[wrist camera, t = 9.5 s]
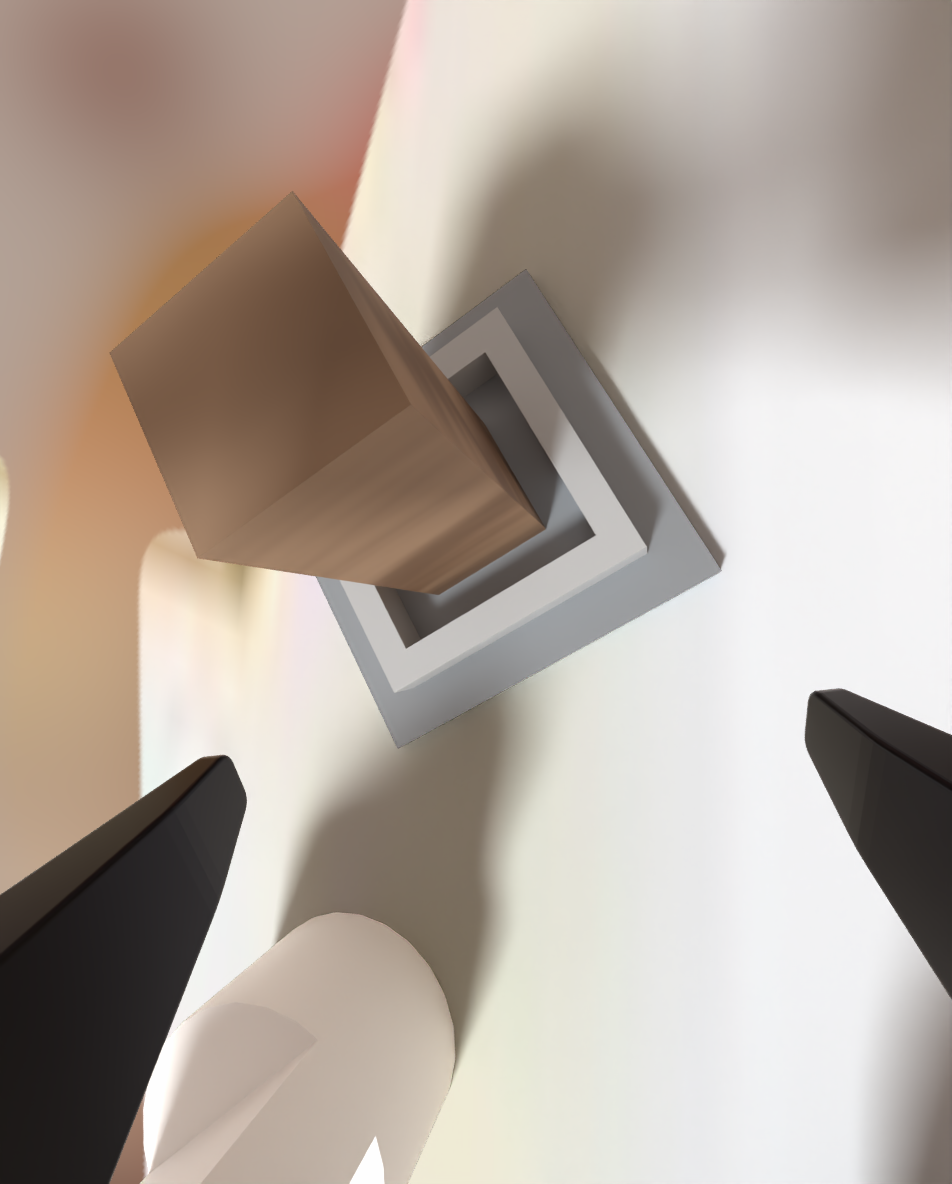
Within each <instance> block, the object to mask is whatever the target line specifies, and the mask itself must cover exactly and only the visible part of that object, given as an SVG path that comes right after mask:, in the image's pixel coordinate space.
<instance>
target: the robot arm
mask: <svg viewBox="0 0 952 1184" xmlns="http://www.w3.org/2000/svg"><path fill="white" fill-rule="evenodd" d="M805 744H806V748H807V751H808V753H809V755H810V757H811V759H812V761H813V763H814V766H815V768H816V770H817V772H818V774H819V776H820V778H821V780H822V782H823V784H824V786H825V788H826V790H827V792H828V794H829V796H830V798H831V800H832V802H833V804H834V806H835V808H836V810H837V812H838V814H839V816H840V818H841V820H842V822H843V824H844V826H845V828H846V830H847V832H848V834H849V836H850V838H851V840H852V841H853V843H854V845H855V847H856V849H857V851H858V852H859V854H860V856H861V857H862V859H863V861H864V862H865V864H866V865H867V867H868V869H869V870H870V872H871V873H872V875H873V877H874V878H875V880H876V881H877V883H878V884H879V886H880V888H881V889H882V891H883V892H884V894H885V895H886V897H887V899H888V900H889V902H890V903H891V905H892V906H893V908H894V910H895V911H896V913H897V914H898V916H899V917H900V919H901V921H902V922H903V924H904V925H905V927H906V928H907V930H908V932H909V933H910V935H911V936H912V938H913V939H914V941H915V943H916V944H917V946H918V947H919V949H920V951H921V952H922V954H923V955H924V957H925V958H926V960H927V962H928V963H929V965H930V966H931V968H932V969H933V971H934V973H935V974H936V976H937V977H938V979H939V980H940V982H941V984H942V985H943V987H944V988H945V990H946V991H947V993H948V995H949V996H950V998H951V999H952V735H950V734H948V733H946V732H943V731H941V730H939V729H936V728H934V727H932V726H929V725H927V724H925V723H922V722H920V721H918V720H915V719H913V718H911V717H908V716H906V715H904V714H901V713H899V712H896V711H894V710H892V709H889V708H887V707H885V706H882V705H880V704H878V703H875V702H873V701H871V700H868V699H866V698H864V697H861V696H859V695H857V694H854V693H852V692H850V691H847V690H845V689H839V688H838V689H828V690H819V691H814V692H813V693H811V694H810V696H809V699H808V706H807V717H806V727H805ZM246 804H247V797H246V792H245V790H244V787H243V785H242V783H241V780H240V778H239V776H238V773H237V771H236V768H235V766H234V764H233V762H232V760H231V759H230V758H229V757H228V756H226V755H217V756H207V757H202V758H200V759H198V760H197V761H195V762H194V763H192V764H191V765H189V766H188V767H186V768H185V769H183V770H182V771H181V772H179V773H178V774H176V775H175V776H173V777H172V778H170V779H169V780H167V781H166V782H164V783H163V784H162V785H160V786H159V787H157V788H156V789H154V790H153V791H151V792H150V793H148V794H147V795H145V796H144V797H143V798H141V799H140V800H138V801H137V802H135V803H134V804H132V805H131V806H129V807H128V808H127V809H125V810H124V811H122V812H121V813H119V814H118V815H116V816H115V817H114V818H112V819H111V820H109V821H108V822H106V823H105V824H103V825H102V826H100V827H99V828H97V829H96V830H94V831H93V832H91V833H90V834H89V835H87V836H86V837H84V838H83V839H81V840H80V841H78V842H77V843H75V844H74V845H72V846H71V847H69V848H68V849H67V850H65V851H64V852H62V853H61V854H59V855H58V856H56V857H55V858H54V859H52V860H51V861H49V862H48V863H46V864H45V865H43V866H42V867H40V868H39V869H37V870H36V871H34V872H33V873H31V874H30V875H29V876H27V877H26V878H24V879H23V880H22V881H20V882H18V883H17V884H15V885H14V886H12V887H11V888H10V889H8V890H7V891H5V892H4V893H2V894H1V895H0V1184H110V1181H111V1178H112V1176H113V1173H114V1171H115V1168H116V1165H117V1163H118V1160H119V1158H120V1155H121V1152H122V1150H123V1147H124V1145H125V1143H126V1140H127V1137H128V1135H129V1132H130V1130H131V1127H132V1125H133V1122H134V1119H135V1117H136V1114H137V1112H138V1109H139V1107H140V1104H141V1101H142V1099H143V1096H144V1094H145V1091H146V1089H147V1086H148V1084H149V1081H150V1078H151V1076H152V1073H153V1071H154V1068H155V1066H156V1063H157V1060H158V1058H159V1055H160V1053H161V1050H162V1048H163V1045H164V1043H165V1040H166V1037H167V1035H168V1032H169V1030H170V1027H171V1025H172V1022H173V1019H174V1017H175V1014H176V1012H177V1009H178V1007H179V1004H180V1001H181V999H182V996H183V994H184V991H185V989H186V986H187V984H188V981H189V978H190V976H191V973H192V971H193V968H194V966H195V963H196V960H197V958H198V955H199V953H200V950H201V948H202V945H203V942H204V940H205V937H206V935H207V932H208V930H209V927H210V925H211V922H212V919H213V917H214V914H215V911H216V909H217V906H218V903H219V900H220V897H221V894H222V891H223V888H224V884H225V881H226V877H227V874H228V870H229V867H230V863H231V860H232V856H233V853H234V849H235V846H236V842H237V838H238V835H239V831H240V828H241V824H242V821H243V817H244V814H245V810H246Z"/></svg>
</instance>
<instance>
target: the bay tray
mask: <svg viewBox="0 0 952 1184" xmlns="http://www.w3.org/2000/svg"><path fill="white" fill-rule="evenodd" d="M422 348H423V350H424V351H425V352H426V353H427V355H428V356H429V357H430V358H431V359H432V361H433V362H434V363H435V364H436V365H437V367H438V368H439V369H440V370H441V371H442V373H443V374H444V375H445V376H446V378H447V379H448V380H449V381H450V382H451V384H452V385H453V386H454V387H455V388H456V390H457V391H458V392H459V393H460V394H461V396H462V397H463V398H464V399H465V401H466V402H467V403H468V404H469V405H470V407H471V408H472V409H473V410H474V411H475V413H476V414H477V415H478V416H479V417H480V419H481V420H482V421H483V422H484V424H485V425H486V427H487V429H488V430H489V432H490V434H491V435H492V437H493V439H494V441H495V442H496V444H497V446H498V447H499V449H500V451H501V452H502V454H503V456H504V458H505V459H506V461H507V463H508V464H509V466H510V468H511V470H512V471H513V473H514V475H515V476H516V478H517V480H518V482H519V483H520V485H521V487H522V488H523V490H524V492H525V494H526V495H527V497H528V499H529V500H530V502H531V504H532V506H533V507H534V509H535V511H536V512H537V514H538V516H539V518H540V519H541V521H542V523H543V524H544V526H545V528H546V530H544V531H542V532H541V533H539V534H538V535H536V536H534V537H533V538H531V539H529V540H528V541H526V542H524V543H523V544H521V545H520V546H518V547H516V548H515V549H513V550H511V551H510V552H508V553H507V554H505V555H503V556H502V557H500V558H498V559H497V560H495V561H494V562H492V563H490V564H489V565H487V566H485V567H484V568H482V569H481V570H479V571H477V572H476V573H474V574H472V575H471V576H469V577H468V578H466V579H464V580H463V581H461V582H459V583H458V584H456V585H454V586H453V587H451V588H450V589H448V590H446V591H445V592H443V593H441V594H440V595H435V594H428V593H422V592H415V591H409V590H402V589H396V588H389V587H383V586H376V585H369V584H363V583H356V582H350V581H343V580H337V579H330V578H324V577H317V576H316V578H317V580H318V582H319V584H320V586H321V588H322V591H323V593H324V595H325V597H326V599H327V601H328V603H329V605H330V607H331V610H332V612H333V614H334V616H335V618H336V620H337V622H338V624H339V626H340V628H341V631H342V633H343V635H344V637H345V639H346V641H347V643H348V645H349V647H350V649H351V652H352V654H353V656H354V658H355V660H356V662H357V664H358V666H359V668H360V671H361V673H362V675H363V677H364V679H365V681H366V683H367V685H368V687H369V689H370V692H371V694H372V696H373V698H374V700H375V702H376V704H377V706H378V708H379V710H380V713H381V715H382V717H383V719H384V721H385V723H386V725H387V727H388V729H389V731H390V734H391V736H392V738H393V740H394V742H395V744H396V746H397V748H400V747H402V746H404V745H406V744H408V743H410V742H412V741H413V740H415V739H417V738H419V737H421V736H423V735H424V734H426V733H428V732H430V731H432V730H433V729H435V728H437V727H439V726H441V725H443V724H444V723H446V722H448V721H450V720H452V719H454V718H455V717H457V716H459V715H461V714H463V713H464V712H466V711H468V710H470V709H472V708H474V707H475V706H477V705H479V704H481V703H483V702H485V701H486V700H488V699H490V698H492V697H494V696H495V695H497V694H499V693H501V692H503V691H505V690H506V689H508V688H510V687H512V686H514V685H516V684H517V683H519V682H521V681H523V680H525V679H526V678H528V677H530V676H532V675H534V674H536V673H537V672H539V671H541V670H543V669H545V668H547V667H548V666H550V665H552V664H554V663H556V662H557V661H559V660H561V659H563V658H565V657H567V656H568V655H570V654H572V653H574V652H576V651H578V650H579V649H581V648H583V647H585V646H587V645H588V644H590V643H592V642H594V641H596V640H598V639H599V638H601V637H603V636H605V635H607V634H609V633H610V632H612V631H614V630H616V629H618V628H619V627H621V626H623V625H625V624H627V623H629V622H630V621H632V620H634V619H636V618H638V617H640V616H641V615H643V614H645V613H647V612H649V611H650V610H652V609H654V608H656V607H658V606H660V605H661V604H663V603H665V602H667V601H669V600H671V599H672V598H674V597H676V596H678V595H680V594H681V593H683V592H685V591H687V590H689V589H691V588H692V587H694V586H696V585H698V584H700V583H702V582H703V581H705V580H707V579H709V578H711V577H712V576H714V575H716V574H718V573H720V572H721V571H722V570H721V569H720V567H719V566H718V564H717V563H716V561H715V560H714V558H713V556H712V555H711V553H710V552H709V550H708V549H707V547H706V546H705V544H704V543H703V541H702V539H701V538H700V536H699V535H698V533H697V532H696V530H695V529H694V527H693V526H692V524H691V523H690V521H689V519H688V518H687V516H686V515H685V513H684V512H683V510H682V509H681V507H680V506H679V504H678V502H677V501H676V499H675V498H674V496H673V495H672V493H671V492H670V490H669V489H668V487H667V486H666V484H665V482H664V481H663V479H662V478H661V476H660V475H659V473H658V472H657V470H656V469H655V467H654V465H653V464H652V462H651V461H650V459H649V458H648V456H647V455H646V453H645V452H644V450H643V449H642V447H641V445H640V444H639V442H638V441H637V439H636V438H635V436H634V435H633V433H632V432H631V430H630V428H629V427H628V425H627V424H626V422H625V421H624V419H623V418H622V416H621V415H620V413H619V411H618V410H617V408H616V407H615V405H614V404H613V402H612V401H611V399H610V398H609V396H608V395H607V393H606V391H605V390H604V388H603V387H602V385H601V384H600V382H599V381H598V379H597V378H596V376H595V374H594V373H593V371H592V370H591V368H590V367H589V365H588V364H587V362H586V361H585V359H584V358H583V356H582V354H581V353H580V351H579V350H578V348H577V347H576V345H575V344H574V342H573V341H572V339H571V337H570V336H569V334H568V333H567V331H566V330H565V328H564V327H563V325H562V324H561V322H560V321H559V319H558V317H557V316H556V314H555V313H554V311H553V310H552V308H551V307H550V305H549V304H548V302H547V300H546V299H545V297H544V296H543V294H542V293H541V291H540V290H539V288H538V287H537V285H536V283H535V282H534V280H533V279H532V277H531V276H530V274H529V273H528V271H527V270H526V269H525V270H524V271H523V272H521V273H520V274H519V275H517V276H516V277H515V278H513V279H512V280H511V281H509V282H508V283H507V284H505V285H504V286H503V287H501V288H500V289H499V290H497V291H496V292H495V293H493V294H492V295H491V296H489V297H488V298H487V299H485V300H484V301H482V302H481V303H480V304H478V305H477V306H476V307H474V308H473V309H472V310H470V311H469V312H468V313H466V314H465V315H464V316H462V317H461V318H460V319H458V320H457V321H456V322H454V323H453V324H452V325H450V326H449V327H448V328H446V329H445V330H444V331H442V332H441V333H440V334H438V335H437V336H436V337H434V338H433V339H432V340H430V341H429V342H428V343H426V344H425V345H424V346H422Z"/></svg>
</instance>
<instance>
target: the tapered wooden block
mask: <svg viewBox="0 0 952 1184" xmlns="http://www.w3.org/2000/svg"><path fill="white" fill-rule="evenodd" d="M110 355H111V357H112V359H113V362H114V364H115V367H116V369H117V371H118V374H119V376H120V378H121V381H122V383H123V385H124V388H125V390H126V392H127V395H128V397H129V399H130V402H131V404H132V406H133V409H134V411H135V413H136V416H137V418H138V420H139V422H140V425H141V427H142V429H143V432H144V434H145V437H146V439H147V441H148V444H149V446H150V448H151V450H152V453H153V455H154V458H155V460H156V462H157V465H158V467H159V469H160V472H161V474H162V476H163V478H164V481H165V483H166V486H167V488H168V490H169V492H170V495H171V497H172V500H173V502H174V504H175V507H176V509H177V511H178V514H179V516H180V518H181V521H182V523H183V525H184V528H185V530H186V532H187V535H188V537H189V539H190V542H191V544H192V546H193V549H194V551H195V553H196V556H197V558H200V559H206V560H213V561H219V562H226V563H232V564H239V565H245V566H252V567H258V568H265V569H272V570H278V571H285V572H291V573H298V574H304V575H311V576H317V577H324V578H330V579H337V580H343V581H350V582H356V583H363V584H369V585H376V586H383V587H389V588H396V589H402V590H409V591H415V592H422V593H428V594H435V595H440V594H441V593H443V592H445V591H446V590H448V589H450V588H451V587H453V586H454V585H456V584H458V583H459V582H461V581H463V580H464V579H466V578H468V577H469V576H471V575H472V574H474V573H476V572H477V571H479V570H481V569H482V568H484V567H485V566H487V565H489V564H490V563H492V562H494V561H495V560H497V559H498V558H500V557H502V556H503V555H505V554H507V553H508V552H510V551H511V550H513V549H515V548H516V547H518V546H520V545H521V544H523V543H524V542H526V541H528V540H529V539H531V538H533V537H534V536H536V535H538V534H539V533H541V532H542V531H544V530H546V528H545V526H544V524H543V523H542V521H541V519H540V518H539V516H538V514H537V512H536V511H535V509H534V507H533V506H532V504H531V502H530V500H529V499H528V497H527V495H526V494H525V492H524V490H523V488H522V487H521V485H520V483H519V482H518V480H517V478H516V476H515V475H514V473H513V471H512V470H511V468H510V466H509V464H508V463H507V461H506V459H505V458H504V456H503V454H502V452H501V451H500V449H499V447H498V446H497V444H496V442H495V441H494V439H493V437H492V435H491V434H490V432H489V430H488V429H487V427H486V425H485V424H484V422H483V421H482V420H481V419H480V417H479V416H478V415H477V414H476V413H475V411H474V410H473V409H472V408H471V407H470V405H469V404H468V403H467V402H466V401H465V399H464V398H463V397H462V396H461V394H460V393H459V392H458V391H457V390H456V388H455V387H454V386H453V385H452V384H451V382H450V381H449V380H448V379H447V378H446V376H445V375H444V374H443V373H442V371H441V370H440V369H439V368H438V367H437V365H436V364H435V363H434V362H433V361H432V359H431V358H430V357H429V356H428V355H427V353H426V352H425V351H424V350H423V348H422V347H421V346H420V345H419V344H418V342H417V341H416V340H415V339H414V338H413V336H412V335H411V334H410V333H409V332H408V330H407V329H406V328H405V327H404V325H403V324H402V323H401V322H400V321H399V319H398V318H397V317H396V316H395V315H394V313H393V312H392V311H391V310H390V309H389V307H388V306H387V305H386V304H385V302H384V301H383V300H382V299H381V298H380V296H379V295H378V294H377V293H376V292H375V290H374V289H373V288H372V287H371V286H370V284H369V283H368V282H367V281H366V279H365V278H364V277H363V276H362V275H361V273H360V272H359V271H358V270H357V269H356V267H355V266H354V265H353V264H352V263H351V261H350V260H349V259H348V258H347V256H346V255H345V254H344V253H343V252H342V250H341V249H340V248H339V247H338V246H337V244H336V243H335V242H334V241H333V240H332V239H331V237H330V236H329V235H328V234H327V232H326V231H325V230H324V229H323V227H322V226H321V225H320V224H319V223H318V221H317V220H316V219H315V218H314V217H313V215H312V214H311V213H310V212H309V210H308V209H307V208H306V207H305V206H304V204H303V203H302V202H301V201H300V200H299V198H298V197H297V196H296V195H295V194H294V192H293V191H292V192H291V193H290V194H289V195H287V196H286V197H285V198H284V199H283V200H282V201H281V202H280V203H279V204H277V205H276V206H275V207H274V208H273V209H272V210H271V211H269V212H268V213H267V214H266V215H265V216H264V217H263V218H262V219H260V220H259V221H258V222H257V223H256V224H255V225H254V226H252V227H251V228H250V229H249V230H248V231H247V232H246V233H244V234H243V235H242V236H241V237H240V238H239V239H238V240H237V241H235V242H234V243H233V244H232V245H231V246H230V247H229V248H228V249H226V250H225V251H224V252H223V253H222V254H221V255H220V256H218V257H217V258H216V259H215V260H214V261H213V262H212V263H211V264H209V265H208V266H207V267H206V268H205V269H204V270H203V271H202V272H200V273H199V274H198V275H197V276H196V277H195V278H194V279H192V280H191V281H190V282H189V283H188V284H187V285H186V286H184V287H183V288H182V289H181V290H180V291H179V292H178V293H177V294H175V295H174V296H173V297H172V298H171V299H170V300H169V301H168V302H166V303H165V304H164V305H163V306H162V307H161V308H160V309H158V310H157V311H156V312H155V313H154V314H153V315H152V316H151V317H149V318H148V319H147V320H146V321H145V322H144V323H143V324H142V325H140V326H139V327H138V328H137V329H136V330H135V331H134V332H132V333H131V334H130V335H129V336H128V337H127V338H126V339H124V341H122V342H121V343H120V344H119V345H118V346H117V347H115V348H114V349H113V350H112V351H111V352H110Z"/></svg>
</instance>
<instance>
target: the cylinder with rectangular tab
mask: <svg viewBox="0 0 952 1184" xmlns="http://www.w3.org/2000/svg"><path fill="white" fill-rule="evenodd" d="M455 1059H456V1057H455V1039H454V1025H453V1022H452V1018H451V1015H450V1011H449V1008H448V1004H447V1001H446V997H445V994H444V992H443V990H442V988H441V987H440V985H439V983H438V981H437V979H436V977H435V975H434V973H433V971H432V970H431V968H430V966H429V965H428V963H427V962H426V961H425V960H424V959H423V958H422V956H421V955H420V954H419V953H418V952H417V950H416V949H415V948H414V947H413V946H412V945H411V943H410V942H409V941H407V940H406V939H405V938H403V937H402V936H401V935H399V934H398V933H397V932H395V931H394V930H393V929H391V928H390V927H388V926H387V925H386V924H383V923H381V922H378V921H376V920H373V919H371V918H368V917H366V916H363V915H361V914H351V913H340V912H334V913H330V914H325V915H321V916H317V917H313V918H311V919H309V920H308V921H306V922H305V923H303V924H301V925H300V926H298V927H296V928H295V929H293V930H292V931H291V932H290V933H288V934H287V935H286V936H285V937H284V938H282V939H281V940H280V941H279V942H278V943H276V944H275V945H274V946H273V947H272V948H271V949H269V950H268V951H267V952H266V953H265V954H263V955H262V956H261V957H260V958H259V959H257V960H256V961H255V962H254V963H253V964H251V965H250V966H249V967H248V968H247V969H245V970H244V971H243V972H242V973H241V974H239V975H238V976H237V977H236V978H235V979H233V980H232V981H231V982H230V983H229V984H228V985H226V986H225V987H224V988H223V989H222V990H220V991H219V992H218V993H217V994H216V995H214V996H213V997H212V998H211V999H210V1000H208V1001H207V1002H206V1003H205V1004H204V1005H202V1006H201V1007H200V1008H199V1009H198V1010H196V1011H195V1012H194V1013H193V1014H192V1015H191V1016H189V1017H188V1018H187V1019H186V1020H185V1021H183V1022H182V1023H181V1025H180V1026H179V1027H178V1028H177V1029H176V1031H175V1032H174V1033H173V1034H172V1035H171V1036H170V1038H169V1039H168V1040H167V1041H166V1042H165V1043H164V1045H163V1048H162V1050H161V1053H160V1055H159V1058H158V1060H157V1063H156V1066H155V1068H154V1071H153V1073H152V1076H151V1078H150V1081H149V1084H148V1088H147V1093H146V1098H145V1104H144V1109H143V1112H144V1150H145V1155H146V1160H147V1165H148V1170H149V1174H148V1175H147V1176H146V1177H145V1179H144V1180H143V1181H142V1182H141V1183H140V1184H408V1182H409V1180H410V1178H411V1175H412V1173H413V1171H414V1169H415V1166H416V1164H417V1162H418V1159H419V1157H420V1155H421V1153H422V1150H423V1148H424V1146H425V1144H426V1141H427V1139H428V1137H429V1135H430V1132H431V1130H432V1128H433V1126H434V1123H435V1121H436V1119H437V1116H438V1114H439V1112H440V1110H441V1107H442V1105H443V1103H444V1101H445V1098H446V1096H447V1094H448V1092H449V1089H450V1085H451V1080H452V1075H453V1070H454V1064H455Z"/></svg>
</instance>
